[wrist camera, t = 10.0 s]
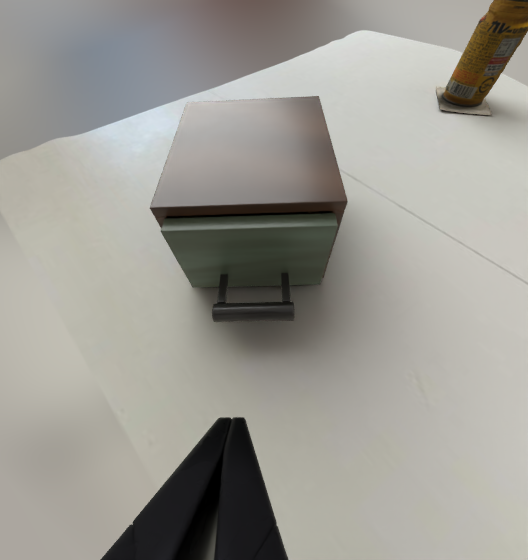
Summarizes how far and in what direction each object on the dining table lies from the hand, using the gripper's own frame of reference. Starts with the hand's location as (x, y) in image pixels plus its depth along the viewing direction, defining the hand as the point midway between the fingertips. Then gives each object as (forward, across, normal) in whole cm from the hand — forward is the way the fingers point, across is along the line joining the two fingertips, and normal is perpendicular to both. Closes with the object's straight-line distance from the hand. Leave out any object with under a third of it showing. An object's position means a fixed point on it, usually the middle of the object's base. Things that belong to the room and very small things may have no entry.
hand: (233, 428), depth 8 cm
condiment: (+40, -33, -25) cm, 57 cm away
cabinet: (+21, 0, -6) cm, 22 cm away
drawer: (+18, 0, -4) cm, 18 cm away
